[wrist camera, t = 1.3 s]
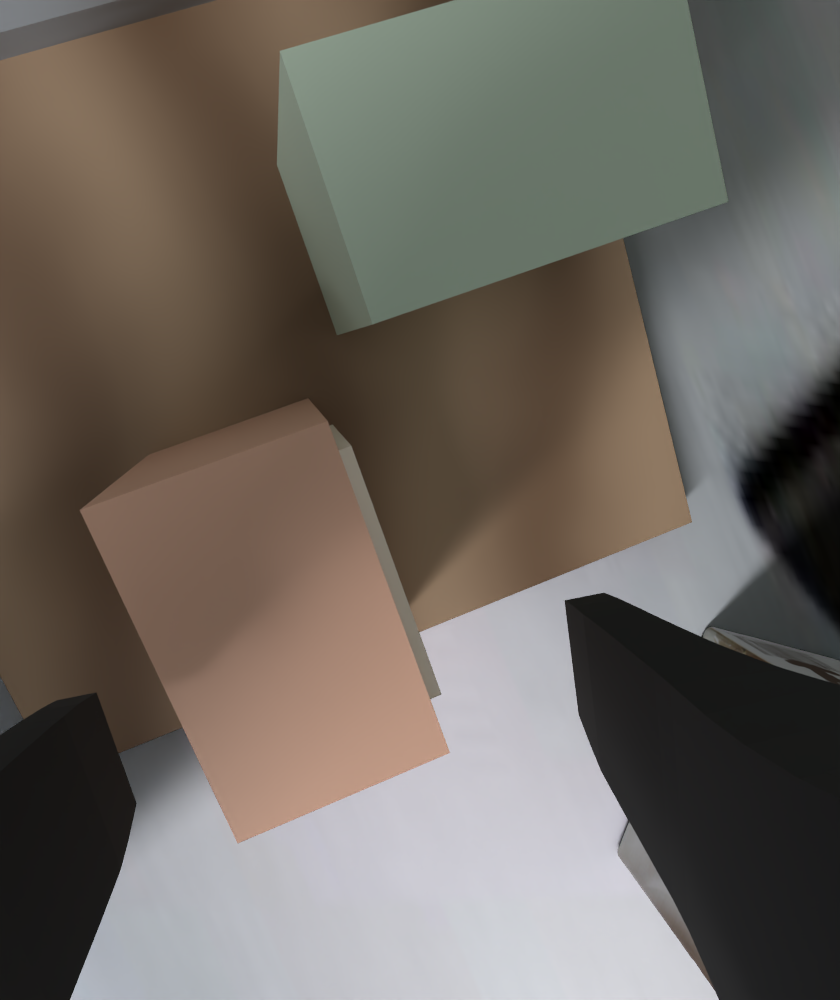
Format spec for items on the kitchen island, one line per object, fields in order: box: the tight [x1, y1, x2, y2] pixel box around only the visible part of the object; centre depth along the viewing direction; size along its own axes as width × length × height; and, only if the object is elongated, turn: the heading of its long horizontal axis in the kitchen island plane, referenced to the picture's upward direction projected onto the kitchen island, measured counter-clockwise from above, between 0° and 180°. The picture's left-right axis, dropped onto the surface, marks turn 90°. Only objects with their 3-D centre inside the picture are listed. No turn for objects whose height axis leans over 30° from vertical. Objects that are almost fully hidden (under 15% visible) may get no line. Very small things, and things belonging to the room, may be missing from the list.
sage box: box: [277, 0, 728, 335], centre depth 16 cm, size 5×7×7 cm
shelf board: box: [0, 0, 692, 753], centre depth 19 cm, size 20×18×2 cm
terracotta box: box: [80, 398, 450, 843], centre depth 17 cm, size 5×7×7 cm
